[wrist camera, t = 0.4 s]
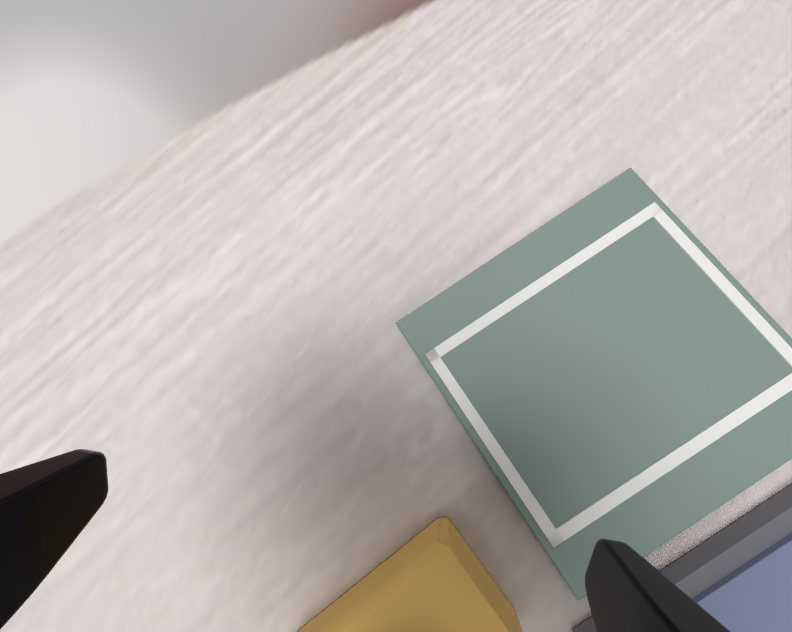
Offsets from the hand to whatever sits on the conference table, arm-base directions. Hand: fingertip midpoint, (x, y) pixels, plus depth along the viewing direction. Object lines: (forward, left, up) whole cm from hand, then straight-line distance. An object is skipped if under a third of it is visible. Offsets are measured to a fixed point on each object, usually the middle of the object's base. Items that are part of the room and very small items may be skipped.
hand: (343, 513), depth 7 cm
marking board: (-3, -10, -14) cm, 18 cm away
